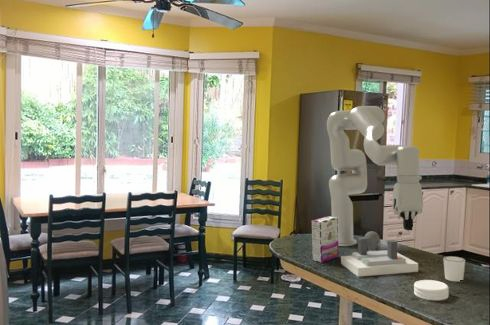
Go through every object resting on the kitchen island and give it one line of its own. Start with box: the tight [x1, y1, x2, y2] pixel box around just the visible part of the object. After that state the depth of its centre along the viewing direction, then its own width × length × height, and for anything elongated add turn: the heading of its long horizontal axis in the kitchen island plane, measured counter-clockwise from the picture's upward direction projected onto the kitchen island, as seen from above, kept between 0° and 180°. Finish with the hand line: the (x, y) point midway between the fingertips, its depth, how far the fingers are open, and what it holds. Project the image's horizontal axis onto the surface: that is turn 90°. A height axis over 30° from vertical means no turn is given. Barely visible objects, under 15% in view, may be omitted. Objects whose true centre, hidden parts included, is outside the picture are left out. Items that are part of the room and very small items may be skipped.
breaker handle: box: [386, 239, 398, 258], centre depth 169 cm, size 3×2×6 cm
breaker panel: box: [340, 236, 419, 277], centre depth 173 cm, size 16×23×10 cm
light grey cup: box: [443, 255, 466, 282], centre depth 158 cm, size 7×7×7 cm
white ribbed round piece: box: [413, 279, 450, 302], centre depth 144 cm, size 10×10×4 cm
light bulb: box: [363, 230, 381, 252], centre depth 189 cm, size 6×6×10 cm
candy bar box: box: [311, 215, 340, 263], centre depth 186 cm, size 11×5×16 cm, turn 131°
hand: (408, 229), depth 169 cm, fingers closed
